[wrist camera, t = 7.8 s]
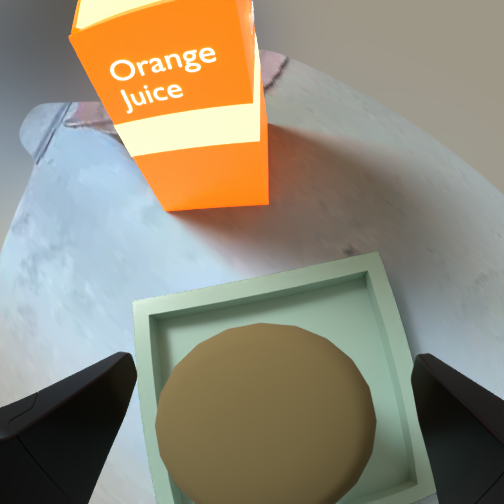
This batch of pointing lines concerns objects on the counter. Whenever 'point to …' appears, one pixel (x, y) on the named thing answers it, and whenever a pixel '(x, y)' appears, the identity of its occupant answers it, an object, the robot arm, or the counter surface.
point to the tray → (316, 321)
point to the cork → (265, 419)
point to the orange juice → (181, 94)
